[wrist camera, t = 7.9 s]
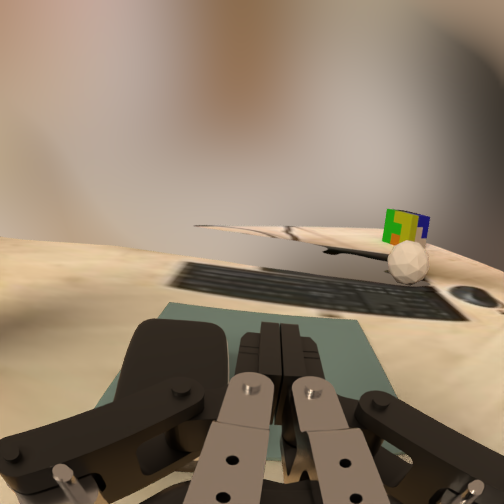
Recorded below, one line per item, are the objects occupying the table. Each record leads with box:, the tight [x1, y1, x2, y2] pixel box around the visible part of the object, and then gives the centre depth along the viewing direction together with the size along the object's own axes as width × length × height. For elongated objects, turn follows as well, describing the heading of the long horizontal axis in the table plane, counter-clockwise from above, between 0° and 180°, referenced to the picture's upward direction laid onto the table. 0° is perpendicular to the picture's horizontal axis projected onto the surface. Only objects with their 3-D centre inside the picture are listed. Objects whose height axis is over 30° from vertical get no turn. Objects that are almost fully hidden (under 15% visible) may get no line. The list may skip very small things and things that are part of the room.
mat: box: [94, 302, 406, 461], centre depth 25 cm, size 22×20×1 cm
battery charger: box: [113, 319, 229, 472], centre depth 18 cm, size 7×4×11 cm
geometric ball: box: [388, 240, 429, 285], centre depth 48 cm, size 8×8×8 cm
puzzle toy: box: [382, 209, 430, 249], centre depth 83 cm, size 10×10×10 cm
